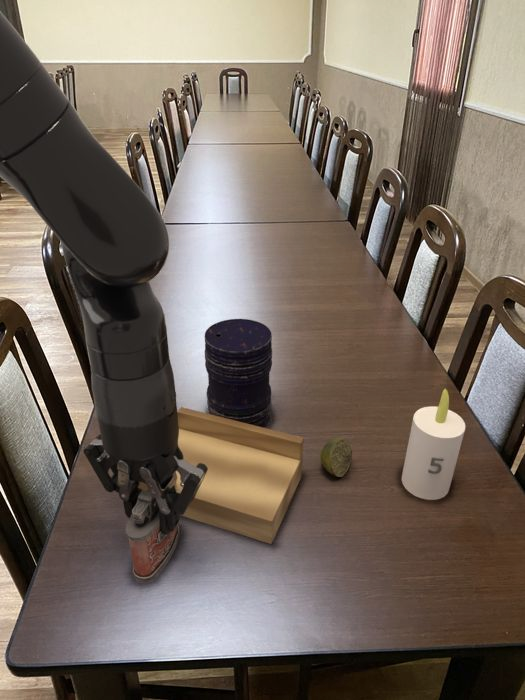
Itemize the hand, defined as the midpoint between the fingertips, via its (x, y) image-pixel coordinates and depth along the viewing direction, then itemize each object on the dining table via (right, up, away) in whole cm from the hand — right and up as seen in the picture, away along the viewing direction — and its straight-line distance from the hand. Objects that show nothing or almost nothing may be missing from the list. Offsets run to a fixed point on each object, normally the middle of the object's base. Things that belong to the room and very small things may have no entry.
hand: (153, 523), depth 60 cm
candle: (+34, +1, +13) cm, 37 cm away
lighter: (0, -5, +3) cm, 5 cm away
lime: (+22, +3, +15) cm, 27 cm away
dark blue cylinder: (+9, +9, +25) cm, 28 cm away
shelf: (+7, +1, +11) cm, 13 cm away
